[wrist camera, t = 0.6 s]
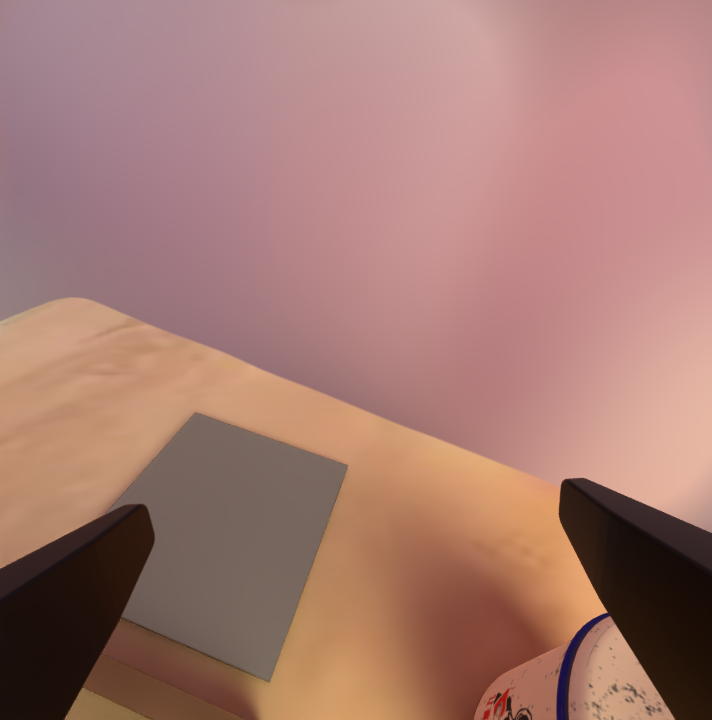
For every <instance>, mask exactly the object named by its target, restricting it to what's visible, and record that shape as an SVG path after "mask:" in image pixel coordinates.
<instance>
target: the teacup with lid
mask: <svg viewBox="0 0 712 720" xmlns="http://www.w3.org/2000/svg"><path fill="white" fill-rule="evenodd" d="M473 720H675V719H674V717H673V715H672V714H671V712H670V711H669V709H668V708H667V706H666V704H665V703H664V701H663V700H662V698H661V696H660V695H659V693H658V692H657V690H656V688H655V687H654V685H653V684H652V682H651V680H650V679H649V677H648V676H647V674H646V672H645V671H644V669H643V668H642V666H641V665H640V663H639V661H638V660H637V658H636V657H635V655H634V653H633V652H632V650H631V649H630V647H629V645H628V644H627V642H626V641H625V639H624V637H623V636H622V634H621V633H620V631H619V629H618V628H617V626H616V625H615V623H614V622H613V620H612V618H611V617H610V615H609V614H608V613H605V614H602V615H600V616H598V617H596V618H594V619H592V620H591V621H589V622H588V623H586V624H585V625H584V626H583V627H582V628H581V629H580V630H579V631H578V632H577V633H576V635H575V636H574V638H573V639H572V640H570V641H568V642H566V643H564V644H562V645H560V646H558V647H556V648H554V649H552V650H550V651H548V652H546V653H544V654H542V655H540V656H538V657H536V658H534V659H532V660H530V661H527V662H525V663H523V664H521V665H519V666H517V667H515V668H513V669H511V670H509V671H507V672H505V673H504V674H502V675H501V676H499V677H498V678H497V679H496V680H495V681H494V682H493V683H492V684H491V685H490V686H489V688H488V689H487V690H486V692H485V693H484V695H483V697H482V698H481V700H480V703H479V705H478V707H477V710H476V713H475V716H474V719H473Z"/></svg>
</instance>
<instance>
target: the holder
mask: <svg viewBox="0 0 712 720" xmlns="http://www.w3.org/2000/svg"><path fill="white" fill-rule="evenodd" d="M83 688H85V689H87V690H89V691H92V692H94V693H96V694H98V695H100V696H102V697H104V698H106V699H109V700H111V701H113V702H115V703H117V704H119V705H121V706H124V707H126V708H128V709H130V710H132V711H134V712H136V713H138V714H141V715H143V716H145V717H147V718H149V719H151V720H246V719H244V718H242V717H240V716H237V715H235V714H233V713H231V712H228V711H226V710H224V709H222V708H220V707H217V706H215V705H213V704H211V703H209V702H206V701H204V700H202V699H200V698H198V697H195V696H193V695H191V694H189V693H187V692H184V691H182V690H180V689H178V688H176V687H173V686H171V685H169V684H167V683H165V682H162V681H160V680H158V679H156V678H154V677H151V676H149V675H147V674H145V673H142V672H140V671H138V670H136V669H134V668H131V667H129V666H127V665H125V664H123V663H120V662H118V661H116V660H114V659H112V658H109V657H107V656H105V655H103V654H101V655H100V657H99V658H98V660H97V662H96V664H95V666H94V667H93V669H92V671H91V673H90V675H89V676H88V678H87V680H86V682H85V683H84V685H83Z"/></svg>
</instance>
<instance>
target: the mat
mask: <svg viewBox="0 0 712 720" xmlns="http://www.w3.org/2000/svg"><path fill="white" fill-rule="evenodd" d="M347 467H348V465H345V464H342V463H339V462H336V461H334V460H331V459H328V458H325V457H322V456H319V455H316V454H313V453H311V452H308V451H305V450H302V449H299V448H296V447H293V446H290V445H288V444H285V443H282V442H279V441H276V440H273V439H270V438H268V437H265V436H262V435H259V434H256V433H253V432H250V431H247V430H245V429H242V428H239V427H236V426H233V425H230V424H227V423H224V422H222V421H219V420H216V419H213V418H210V417H207V416H204V415H201V414H199V413H195V414H194V415H193V416H192V417H191V418H190V419H189V421H188V422H187V423H186V424H185V425H184V426H183V427H182V428H181V429H180V431H179V432H178V433H177V434H176V435H175V436H174V437H173V438H172V440H171V441H170V442H169V443H168V444H167V445H166V446H165V447H164V449H163V450H162V451H161V452H160V453H159V454H158V455H157V456H156V457H155V459H154V460H153V461H152V462H151V463H150V464H149V465H148V466H147V468H146V469H145V470H144V471H143V472H142V473H141V474H140V475H139V477H138V478H137V479H136V480H135V481H134V482H133V483H132V484H131V486H130V487H129V488H128V489H127V490H126V491H125V492H124V493H123V494H122V496H121V497H120V498H119V499H118V500H117V501H116V502H115V503H114V505H113V506H112V507H111V508H110V509H109V510H108V511H107V512H106V514H107V513H109V512H111V511H113V510H115V509H117V508H119V507H121V506H123V505H126V504H141V503H142V504H145V505H146V506H147V507H148V510H149V514H150V518H151V521H152V525H153V529H154V533H155V542H154V546H153V548H152V551H151V553H150V555H149V557H148V559H147V562H146V564H145V566H144V568H143V570H142V573H141V575H140V577H139V579H138V581H137V584H136V586H135V588H134V590H133V592H132V595H131V597H130V599H129V601H128V603H127V606H126V608H125V610H124V612H123V614H122V616H121V618H122V619H125V620H127V621H129V622H131V623H134V624H136V625H138V626H141V627H143V628H145V629H147V630H150V631H152V632H154V633H157V634H159V635H161V636H163V637H166V638H168V639H170V640H173V641H175V642H177V643H180V644H182V645H184V646H186V647H189V648H191V649H193V650H196V651H198V652H200V653H202V654H205V655H207V656H209V657H212V658H214V659H216V660H218V661H221V662H223V663H225V664H228V665H230V666H232V667H235V668H237V669H239V670H241V671H244V672H246V673H248V674H251V675H253V676H255V677H257V678H260V679H262V680H264V681H267V682H269V683H270V680H271V677H272V674H273V672H274V669H275V666H276V663H277V661H278V658H279V655H280V652H281V650H282V647H283V644H284V641H285V639H286V636H287V633H288V630H289V627H290V625H291V622H292V619H293V616H294V614H295V611H296V608H297V605H298V603H299V600H300V597H301V594H302V592H303V589H304V586H305V583H306V581H307V578H308V575H309V572H310V570H311V567H312V564H313V561H314V559H315V556H316V553H317V550H318V548H319V545H320V542H321V539H322V537H323V534H324V531H325V528H326V526H327V523H328V520H329V517H330V515H331V512H332V509H333V506H334V504H335V501H336V498H337V495H338V492H339V490H340V487H341V484H342V481H343V479H344V476H345V473H346V470H347Z"/></svg>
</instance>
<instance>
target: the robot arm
mask: <svg viewBox="0 0 712 720" xmlns="http://www.w3.org/2000/svg"><path fill="white" fill-rule="evenodd" d="M559 518H560V522H561V524H562V527H563V529H564V531H565V533H566V534H567V536H568V538H569V540H570V542H571V544H572V546H573V548H574V550H575V552H576V554H577V556H578V558H579V560H580V562H581V564H582V566H583V568H584V570H585V572H586V574H587V576H588V578H589V580H590V582H591V584H592V586H593V588H594V589H595V591H596V593H597V595H598V597H599V599H600V600H601V602H602V604H603V605H604V607H605V609H606V610H607V612H608V614H609V615H610V617H611V618H612V620H613V622H614V623H615V625H616V626H617V628H618V629H619V631H620V633H621V634H622V636H623V637H624V639H625V641H626V642H627V644H628V645H629V647H630V649H631V650H632V652H633V653H634V655H635V657H636V658H637V660H638V661H639V663H640V665H641V666H642V668H643V669H644V671H645V672H646V674H647V676H648V677H649V679H650V680H651V682H652V684H653V685H654V687H655V688H656V690H657V692H658V693H659V695H660V696H661V698H662V700H663V701H664V703H665V704H666V706H667V708H668V709H669V711H670V712H671V714H672V715H673V717H674V719H675V720H712V533H710V532H708V531H706V530H703V529H701V528H699V527H696V526H694V525H692V524H689V523H687V522H685V521H682V520H680V519H678V518H676V517H673V516H671V515H669V514H666V513H664V512H662V511H659V510H657V509H655V508H653V507H650V506H648V505H646V504H643V503H641V502H639V501H636V500H634V499H632V498H629V497H627V496H625V495H622V494H620V493H618V492H615V491H613V490H611V489H609V488H606V487H604V486H602V485H599V484H597V483H595V482H592V481H590V480H587V479H585V478H573V479H565V480H563V481H562V484H561V490H560V502H559ZM154 542H155V533H154V529H153V525H152V521H151V518H150V514H149V510H148V507H147V506H146V505H145V504H142V503H141V504H126V505H123V506H121V507H119V508H117V509H115V510H113V511H111V512H109V513H107V514H105V515H103V516H101V517H100V518H98V519H96V520H94V521H92V522H90V523H88V524H86V525H84V526H82V527H80V528H78V529H76V530H74V531H73V532H71V533H69V534H67V535H65V536H63V537H61V538H59V539H57V540H55V541H53V542H51V543H49V544H47V545H46V546H44V547H42V548H40V549H38V550H36V551H34V552H32V553H30V554H28V555H26V556H24V557H22V558H20V559H18V560H17V561H15V562H13V563H11V564H9V565H7V566H5V567H3V568H1V569H0V720H64V719H65V717H66V716H67V714H68V712H69V710H70V709H71V707H72V705H73V703H74V701H75V700H76V698H77V696H78V694H79V692H80V691H81V689H82V687H83V685H84V683H85V682H86V680H87V678H88V676H89V675H90V673H91V671H92V669H93V667H94V666H95V664H96V662H97V660H98V658H99V657H100V655H101V653H102V651H103V650H104V648H105V646H106V644H107V642H108V641H109V639H110V637H111V635H112V633H113V631H114V630H115V628H116V626H117V624H118V622H119V620H120V618H121V616H122V614H123V612H124V610H125V608H126V606H127V603H128V601H129V599H130V597H131V595H132V592H133V590H134V588H135V586H136V584H137V581H138V579H139V577H140V575H141V573H142V570H143V568H144V566H145V564H146V562H147V559H148V557H149V555H150V553H151V551H152V548H153V546H154Z"/></svg>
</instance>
